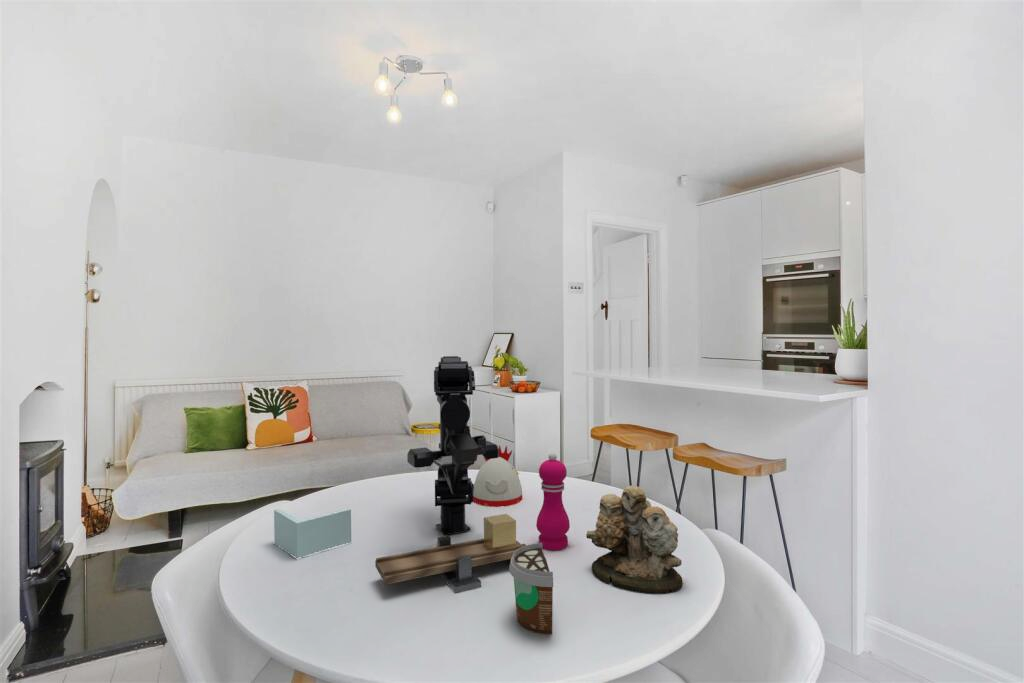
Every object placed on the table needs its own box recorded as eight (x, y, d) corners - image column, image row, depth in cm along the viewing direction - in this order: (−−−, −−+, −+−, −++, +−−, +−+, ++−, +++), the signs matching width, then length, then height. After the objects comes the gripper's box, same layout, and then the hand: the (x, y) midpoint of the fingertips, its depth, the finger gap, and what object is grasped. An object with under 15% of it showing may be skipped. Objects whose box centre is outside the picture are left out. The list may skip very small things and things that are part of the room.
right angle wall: (351, 543, 118) (350, 509, 118) (297, 559, 109) (296, 523, 109) (326, 529, 126) (326, 497, 126) (274, 543, 118) (274, 509, 118)
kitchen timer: (522, 507, 142) (522, 450, 141) (470, 507, 142) (470, 450, 141) (521, 491, 155) (521, 440, 155) (474, 491, 156) (474, 440, 155)
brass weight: (492, 552, 103) (492, 524, 103) (483, 544, 107) (483, 517, 107) (515, 548, 106) (516, 520, 106) (506, 540, 110) (506, 513, 109)
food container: (506, 600, 92) (506, 542, 92) (542, 599, 92) (541, 541, 92) (512, 642, 80) (512, 575, 79) (553, 639, 80) (553, 573, 80)
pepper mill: (568, 552, 112) (567, 457, 111) (534, 550, 113) (533, 456, 113) (571, 539, 119) (570, 449, 118) (539, 537, 120) (538, 448, 120)
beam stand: (455, 592, 95) (454, 564, 95) (429, 560, 108) (428, 536, 108) (536, 573, 102) (536, 547, 102) (502, 545, 115) (502, 522, 115)
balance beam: (385, 584, 93) (385, 574, 93) (375, 566, 100) (375, 557, 100) (527, 555, 105) (527, 546, 105) (509, 541, 112) (509, 532, 112)
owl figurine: (577, 581, 99) (576, 489, 99) (596, 557, 110) (596, 474, 110) (677, 601, 91) (676, 501, 91) (688, 573, 102) (687, 484, 102)
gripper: (422, 430, 101) (423, 512, 102) (510, 422, 110) (510, 498, 110) (406, 422, 111) (407, 496, 112) (488, 415, 120) (488, 484, 120)
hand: (454, 494), depth 113 cm, fingers closed
